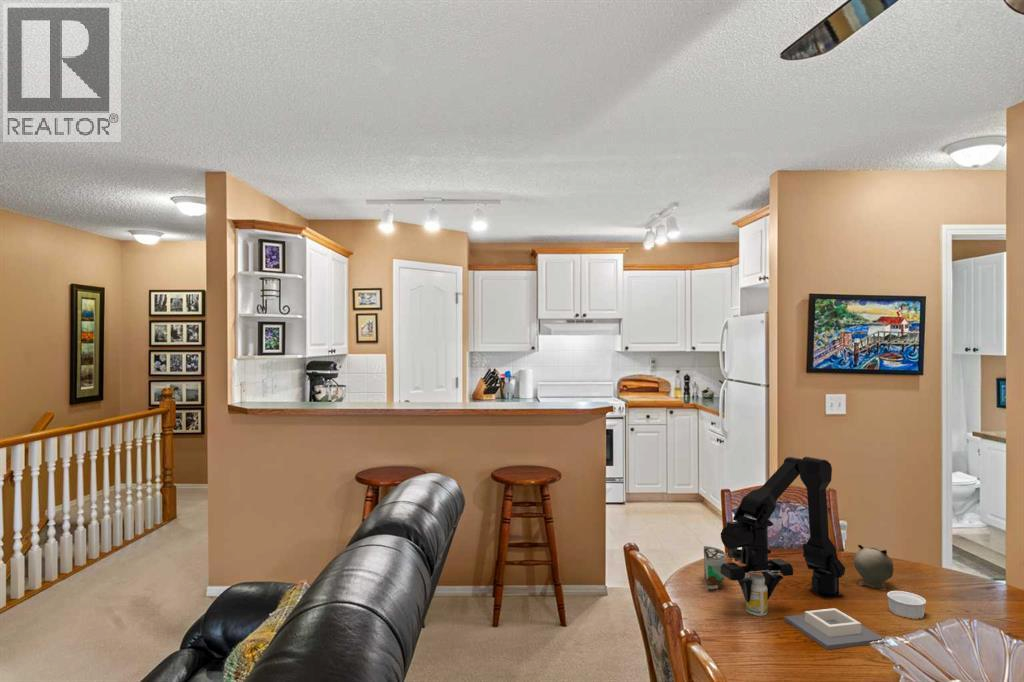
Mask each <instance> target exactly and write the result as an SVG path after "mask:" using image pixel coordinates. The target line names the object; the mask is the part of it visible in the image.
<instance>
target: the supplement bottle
mask: <svg viewBox="0 0 1024 682" xmlns="http://www.w3.org/2000/svg"><path fill="white" fill-rule="evenodd" d="M748 578H749V579H751V580H752V585H751V595H750V601H749V602H746V601H745V602H746V606H745V608H746V612H747V613H749V615H752V614H753V616H759V617H762V616H766V615H767V614H768V600H767V599H768V589H767V586H766V585H765V584H764V583H765V577H764V576H763V574H759V573H750V574H748Z"/></svg>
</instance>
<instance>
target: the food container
mask: <svg viewBox="0 0 1024 682" xmlns="http://www.w3.org/2000/svg"><path fill="white" fill-rule="evenodd" d="M727 558H728V556H727V554H726V553H725V551H724V550H722V549H720V548H717V547H714V546H708V545H703V569H704V571H703V572H704V576H703V577H704V579H705V580H704V579H703V580H704V583H705V582H706V583H705V586H707V587H706V590H707V592H718V591H717V590H719V591H721V590H722V588H723V589H724V584H725V582H724V581H725V576H724V575H723V574H721V572H720V567H721V565H722V564H723V563H728V559H727Z"/></svg>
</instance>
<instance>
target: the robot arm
mask: <svg viewBox="0 0 1024 682" xmlns="http://www.w3.org/2000/svg"><path fill="white" fill-rule="evenodd" d="M832 472H833V467H832V464H831V463H830V462H829V461H828V460H827V459H824V458H823V459H822V458H817V457H810V456H804V457H803V458H798V457H794V456H793V457H792V456H789V457H785V458H784V460H783V463H782V464H781V465H780V466H779V467H778V468H777V470H776V471H775V472H773V474H772V475H771V476H770V477H769V479H767V481H766V482H765V483H764V484H763V485H761V487H759V488H756V489H754V490H751V491H750V492H748V493H747V494H746V495H744V496H743V497H742V499H741V501H740V504H739V506H738V507H737V510H736V511H735V514H734V516H733V518H732V520H733V521H727V522H726V526H725V527H723V529H721V533H720V540H721V542H722V544H723V545H724V546H725V548H726V549H727V558H729V559H734V562H727V563H723V564H722V565H721V567H720V572H721V574H723V575H724V578H727V579H728V580H730V581H734V582H735V581H737V583H738V584H739V587H740V589H741V593H742V595H743V597H744V599H745V602H749V601H750V595H751V585H752V580H751V579H749V575H750V574H759V573H761V575H762V576H764V577H765V583H764V584H765V585H766V586H767V589H768V599H767V601H769V600H770V597H771V596H772V594H773V593H774V590H775V588H776V587H777V586H778V584H779V583H780V582H781V580H783V579H784V577H789V576H794V567H793V565H792V564H791V563H789V562H787V561H786V560H783V559H782V558H772V559H771V558H770V559H769V554H770V555H771V554H772V549H770V548H769V542H768V541H769V538H768V535H769V534H768V533H769V532H768V528H769V527H774V522H772V521H771V520H770V518H771V516H772V515H773V513H774V512H775V510H776V508H777V507H776V506H777V500H778V499H779V498H780V497H781V496H782V495H783V493H784V492H785V491H786V490H788V488H789V487H790V486H791V484H792V483H794V481H795V480H796V479H797V478H798V477H800V480H801V482H802V483H803V486H805V488H806V494H807V507H808V508H807V509H808V510H807V511H808V524H809V525H808V526H809V537H808V540H807V541H806V542H805V543H803V544H802V549H803V551H802V552H803V554H802V557H804V560H805V563H806V566H807V569H808V570H812V576H811V587H809V591H811V592H812V593H815V594H816V595H818V597H819V596H820V597H822V598H824V599H826V598H827V599H828V598H838V597H844V594H843V593H841V592H840V581H839V580H840V579H841V578H842V577H843V576H845V574H846V566H845V565H844V564H843V563H842V562H841V561H840V560H839V559H838V557H839V556H838V554H837V549H836V547H835V544H834V543H833V541H832V540H831V539H830V532H829V531H830V529H829V517H828V502H827V499H828V498H827V488H828V486H829V485H830V483H831V482H832V474H833V473H832ZM740 548H741V549H740ZM736 562H740V564H742V565H743V566H740V565H739V564H737V563H736Z"/></svg>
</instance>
